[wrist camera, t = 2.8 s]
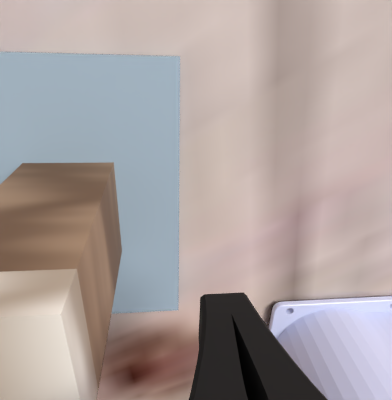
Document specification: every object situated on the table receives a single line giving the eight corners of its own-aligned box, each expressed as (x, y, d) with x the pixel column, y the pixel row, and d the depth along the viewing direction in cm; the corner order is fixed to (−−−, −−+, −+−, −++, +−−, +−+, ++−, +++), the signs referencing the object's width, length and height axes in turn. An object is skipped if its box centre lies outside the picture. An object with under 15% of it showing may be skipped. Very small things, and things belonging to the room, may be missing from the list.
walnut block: (113, 162, 15) (61, 314, 7) (122, 251, 17) (89, 440, 9) (22, 163, 14) (-144, 324, 7) (43, 253, 17) (-61, 454, 9)
